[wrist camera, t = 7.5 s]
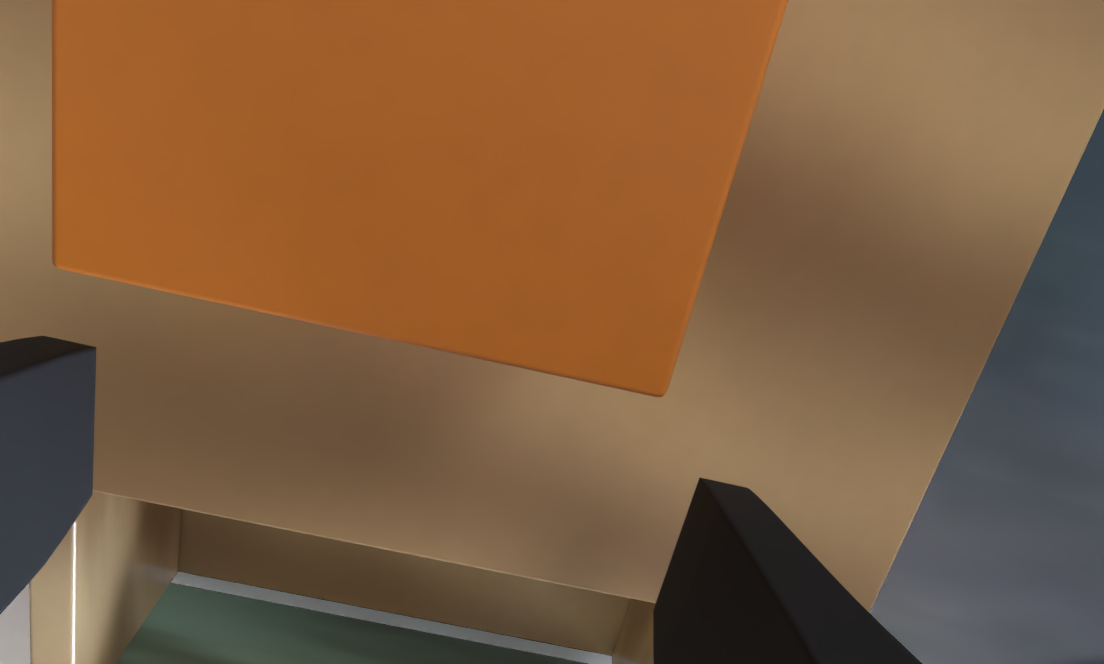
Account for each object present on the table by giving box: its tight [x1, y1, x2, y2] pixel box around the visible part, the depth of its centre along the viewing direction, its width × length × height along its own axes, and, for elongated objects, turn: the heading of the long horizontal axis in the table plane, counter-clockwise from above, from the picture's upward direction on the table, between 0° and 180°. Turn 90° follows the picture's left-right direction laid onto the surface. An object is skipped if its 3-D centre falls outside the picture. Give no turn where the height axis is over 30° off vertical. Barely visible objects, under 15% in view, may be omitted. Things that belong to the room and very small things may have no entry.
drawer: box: [29, 491, 656, 664], centre depth 18 cm, size 17×13×6 cm
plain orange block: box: [52, 0, 788, 397], centre depth 7 cm, size 5×5×5 cm
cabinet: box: [0, 0, 1104, 613], centre depth 13 cm, size 14×15×8 cm
